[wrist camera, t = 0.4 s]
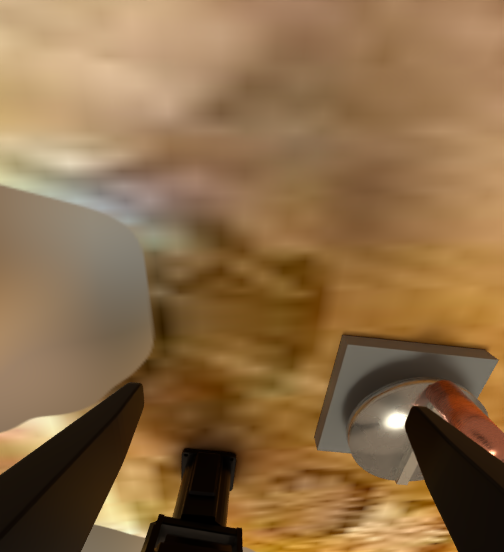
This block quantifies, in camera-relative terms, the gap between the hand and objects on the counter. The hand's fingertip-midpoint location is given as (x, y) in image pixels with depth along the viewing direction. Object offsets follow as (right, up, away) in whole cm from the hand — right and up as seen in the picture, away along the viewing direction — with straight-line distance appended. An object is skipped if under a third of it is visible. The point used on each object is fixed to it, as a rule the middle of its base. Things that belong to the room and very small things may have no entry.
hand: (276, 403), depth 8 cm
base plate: (+14, -9, +18) cm, 25 cm away
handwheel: (+14, -9, +16) cm, 23 cm away
